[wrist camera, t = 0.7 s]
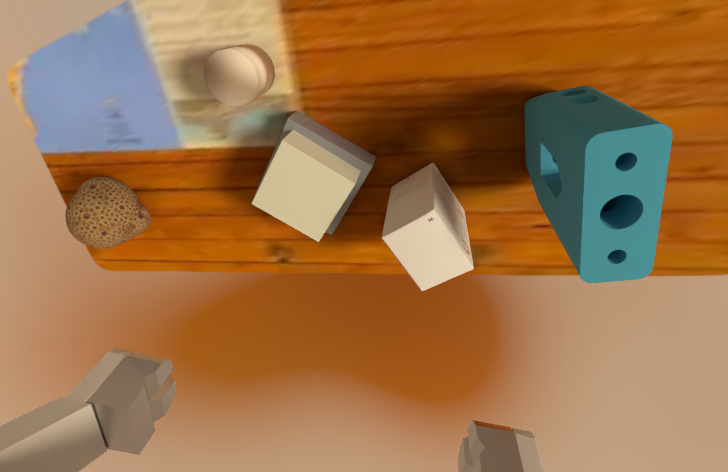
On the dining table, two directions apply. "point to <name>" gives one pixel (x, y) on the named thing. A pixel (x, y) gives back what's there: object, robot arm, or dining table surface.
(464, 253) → the small box
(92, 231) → the natural sponge
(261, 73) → the beige rounded cylinder
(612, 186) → the block
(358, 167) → the tower base
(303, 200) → the tower top
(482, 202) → the dining table surface
